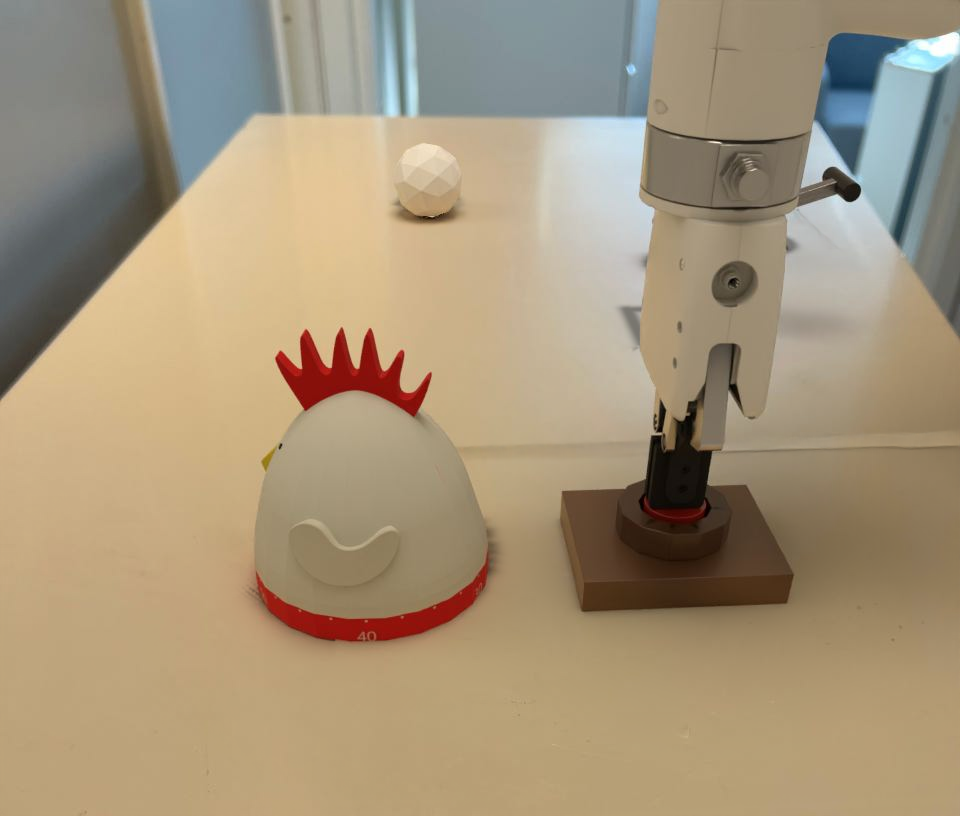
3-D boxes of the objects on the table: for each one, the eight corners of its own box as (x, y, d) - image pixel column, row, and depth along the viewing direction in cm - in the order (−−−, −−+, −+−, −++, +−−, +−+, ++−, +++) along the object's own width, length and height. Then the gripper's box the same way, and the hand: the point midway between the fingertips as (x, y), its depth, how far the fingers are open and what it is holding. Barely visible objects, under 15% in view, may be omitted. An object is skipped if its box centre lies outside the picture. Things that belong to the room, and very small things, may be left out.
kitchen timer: (291, 504, 66) (259, 278, 56) (497, 515, 65) (499, 287, 55) (229, 634, 55) (176, 383, 46) (474, 650, 54) (472, 395, 45)
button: (694, 509, 61) (698, 484, 60) (708, 542, 58) (712, 516, 57) (636, 511, 61) (639, 486, 60) (647, 544, 58) (650, 518, 57)
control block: (740, 513, 65) (751, 459, 63) (786, 605, 57) (801, 547, 55) (559, 519, 65) (563, 465, 62) (581, 613, 57) (586, 555, 54)
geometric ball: (434, 233, 119) (459, 168, 118) (454, 226, 112) (481, 157, 111) (376, 203, 116) (402, 136, 115) (393, 194, 109) (421, 122, 108)
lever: (840, 187, 82) (838, 157, 80) (862, 205, 78) (860, 174, 76) (696, 234, 83) (691, 205, 82) (710, 253, 80) (706, 224, 78)
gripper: (856, 212, 41) (772, 573, 53) (755, 129, 53) (705, 440, 64) (677, 214, 41) (633, 578, 52) (616, 131, 52) (590, 443, 64)
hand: (673, 501), depth 58 cm, fingers closed
